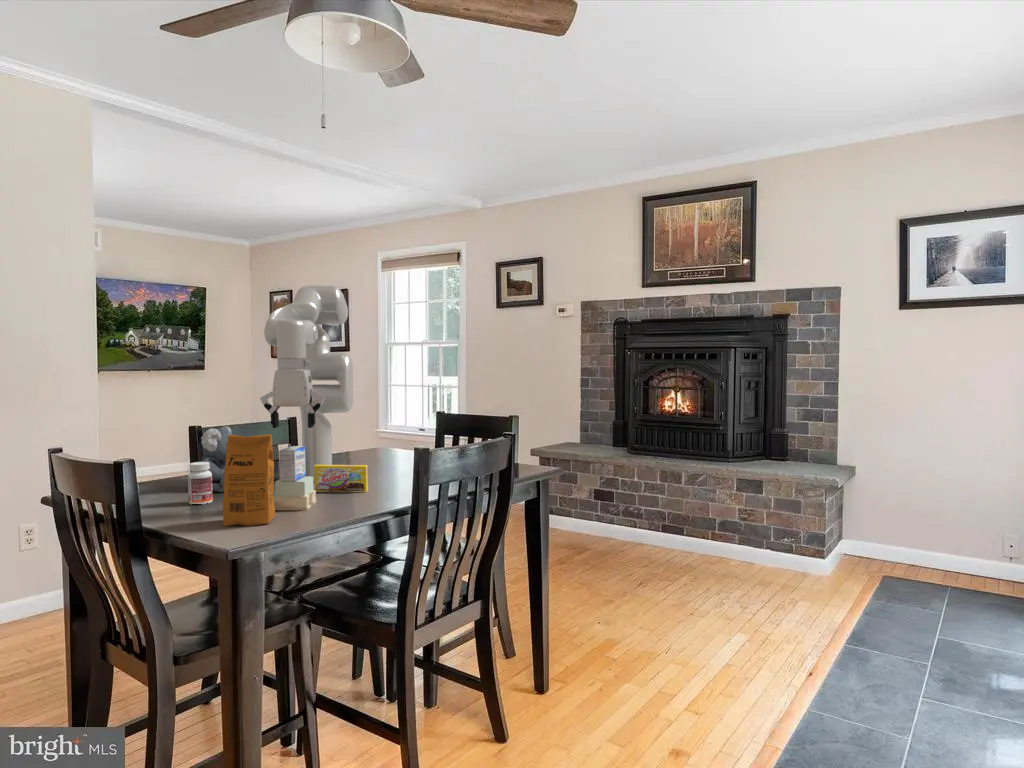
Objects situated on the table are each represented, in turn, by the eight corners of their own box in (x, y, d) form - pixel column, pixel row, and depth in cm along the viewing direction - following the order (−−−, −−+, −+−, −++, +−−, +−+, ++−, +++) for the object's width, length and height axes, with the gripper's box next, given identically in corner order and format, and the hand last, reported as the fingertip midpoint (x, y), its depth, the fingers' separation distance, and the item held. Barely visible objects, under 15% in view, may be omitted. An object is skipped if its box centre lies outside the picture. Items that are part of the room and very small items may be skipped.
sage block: (284, 490, 193) (284, 476, 193) (313, 490, 193) (313, 476, 193) (275, 496, 185) (274, 481, 185) (304, 496, 185) (304, 481, 185)
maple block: (283, 504, 193) (283, 490, 193) (316, 504, 193) (315, 490, 193) (273, 512, 184) (272, 497, 184) (306, 511, 184) (306, 497, 184)
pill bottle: (217, 502, 195) (216, 462, 194) (197, 506, 190) (196, 465, 189) (204, 499, 198) (203, 460, 198) (184, 503, 193) (183, 463, 193)
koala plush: (236, 493, 207) (235, 429, 206) (177, 493, 207) (175, 429, 206) (258, 482, 225) (256, 423, 224) (203, 482, 225) (201, 423, 224)
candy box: (313, 492, 209) (313, 465, 208) (316, 491, 211) (315, 464, 210) (366, 492, 208) (366, 465, 207) (368, 491, 210) (367, 464, 209)
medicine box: (295, 481, 185) (294, 449, 184) (279, 481, 185) (278, 449, 185) (306, 476, 193) (305, 445, 192) (290, 476, 193) (289, 445, 192)
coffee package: (230, 517, 177) (228, 432, 176) (280, 516, 178) (278, 431, 177) (216, 527, 167) (214, 437, 166) (269, 526, 168) (267, 436, 167)
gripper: (327, 364, 191) (328, 425, 192) (265, 364, 191) (266, 425, 192) (319, 365, 184) (321, 429, 185) (255, 365, 184) (256, 429, 185)
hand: (293, 427), depth 189 cm, fingers open, 9 cm apart
